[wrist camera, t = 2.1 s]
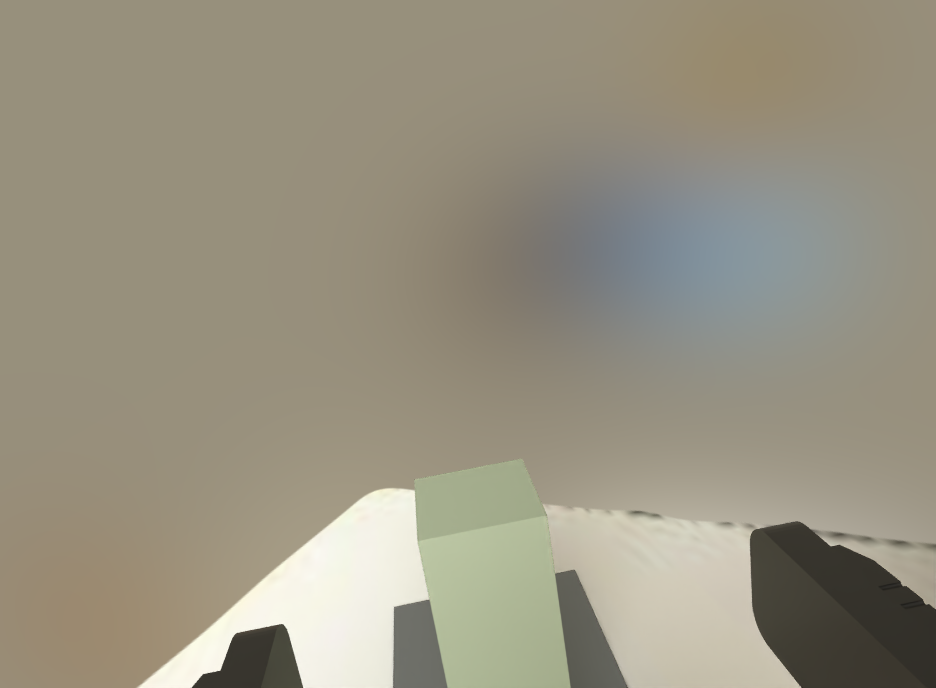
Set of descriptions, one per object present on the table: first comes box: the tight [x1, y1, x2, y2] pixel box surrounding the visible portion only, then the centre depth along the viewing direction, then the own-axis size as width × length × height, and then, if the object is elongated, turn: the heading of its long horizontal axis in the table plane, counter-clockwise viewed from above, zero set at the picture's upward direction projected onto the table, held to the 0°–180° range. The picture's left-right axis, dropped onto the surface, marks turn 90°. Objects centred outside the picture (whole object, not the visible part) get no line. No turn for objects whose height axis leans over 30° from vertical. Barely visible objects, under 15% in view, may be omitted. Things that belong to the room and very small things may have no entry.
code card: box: [393, 570, 628, 688], centre depth 36 cm, size 13×17×1 cm
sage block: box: [414, 459, 571, 688], centre depth 31 cm, size 6×6×14 cm
